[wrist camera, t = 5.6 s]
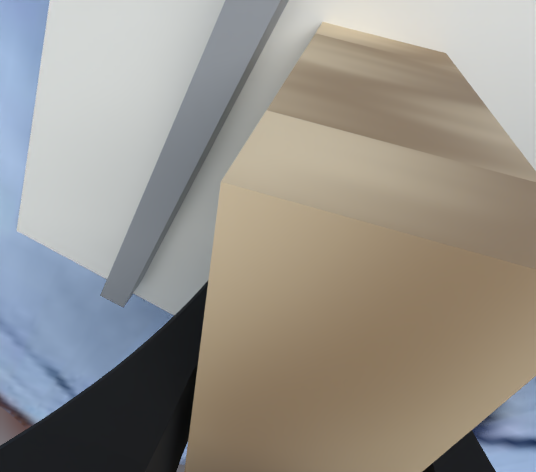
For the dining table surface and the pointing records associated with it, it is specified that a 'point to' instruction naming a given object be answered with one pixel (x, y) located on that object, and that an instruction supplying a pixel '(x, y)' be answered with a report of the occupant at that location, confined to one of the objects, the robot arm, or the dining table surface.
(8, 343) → the dining table surface
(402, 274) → the wooden frame
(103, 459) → the robot arm
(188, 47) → the white board with bars
